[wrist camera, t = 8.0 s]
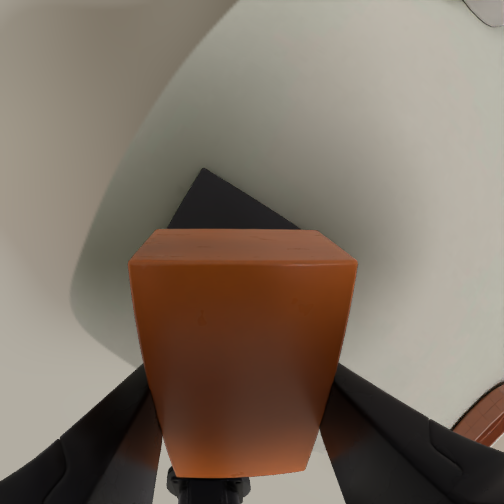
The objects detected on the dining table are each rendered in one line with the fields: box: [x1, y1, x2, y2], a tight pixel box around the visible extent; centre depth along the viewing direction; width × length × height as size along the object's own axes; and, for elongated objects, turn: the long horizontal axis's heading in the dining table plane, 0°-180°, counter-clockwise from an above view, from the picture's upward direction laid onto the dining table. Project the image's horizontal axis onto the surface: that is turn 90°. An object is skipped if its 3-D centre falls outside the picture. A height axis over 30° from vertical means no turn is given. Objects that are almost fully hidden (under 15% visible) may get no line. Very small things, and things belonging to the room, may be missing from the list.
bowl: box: [453, 384, 504, 447], centre depth 24 cm, size 13×13×4 cm
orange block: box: [128, 229, 358, 478], centre depth 7 cm, size 7×4×3 cm, turn 178°
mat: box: [167, 168, 301, 230], centre depth 14 cm, size 7×7×1 cm
